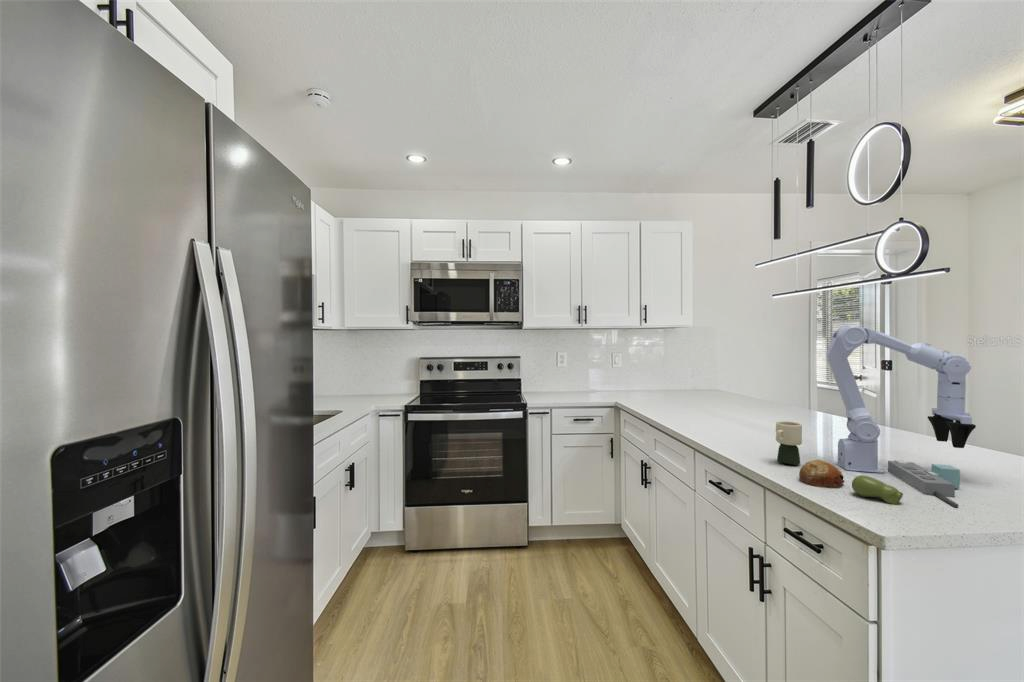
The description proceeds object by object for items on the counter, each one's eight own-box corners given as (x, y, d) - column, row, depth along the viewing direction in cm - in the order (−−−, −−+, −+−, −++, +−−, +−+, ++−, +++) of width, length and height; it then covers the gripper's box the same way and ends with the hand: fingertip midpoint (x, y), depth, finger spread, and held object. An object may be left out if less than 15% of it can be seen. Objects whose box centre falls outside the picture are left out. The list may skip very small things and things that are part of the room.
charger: (933, 486, 119) (933, 468, 119) (924, 481, 123) (924, 463, 123) (960, 488, 117) (960, 469, 117) (950, 483, 121) (950, 465, 121)
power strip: (944, 506, 106) (945, 491, 106) (887, 471, 133) (887, 458, 133) (977, 509, 104) (977, 493, 104) (912, 473, 131) (912, 460, 131)
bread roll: (809, 488, 130) (795, 461, 132) (848, 479, 124) (833, 451, 126) (804, 497, 122) (790, 469, 124) (847, 489, 116) (831, 459, 119)
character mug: (788, 458, 147) (788, 419, 147) (810, 464, 141) (810, 423, 140) (766, 463, 142) (766, 422, 142) (788, 469, 136) (788, 427, 136)
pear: (857, 470, 117) (906, 486, 109) (852, 489, 118) (901, 506, 110) (851, 474, 113) (902, 491, 106) (847, 494, 114) (897, 512, 106)
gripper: (986, 401, 119) (985, 452, 119) (952, 394, 132) (951, 439, 133) (953, 400, 121) (952, 449, 121) (923, 393, 135) (922, 437, 135)
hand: (949, 444), depth 127 cm, fingers open, 7 cm apart
